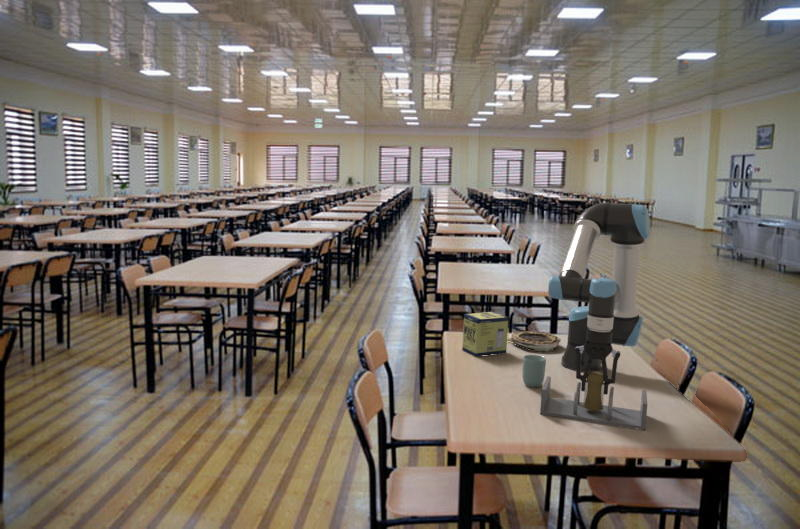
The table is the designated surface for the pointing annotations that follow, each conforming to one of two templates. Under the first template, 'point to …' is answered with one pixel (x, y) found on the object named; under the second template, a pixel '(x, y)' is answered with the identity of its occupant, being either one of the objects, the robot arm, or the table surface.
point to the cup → (533, 370)
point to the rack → (603, 416)
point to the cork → (594, 391)
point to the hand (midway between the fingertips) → (593, 402)
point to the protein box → (485, 333)
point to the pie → (535, 340)
